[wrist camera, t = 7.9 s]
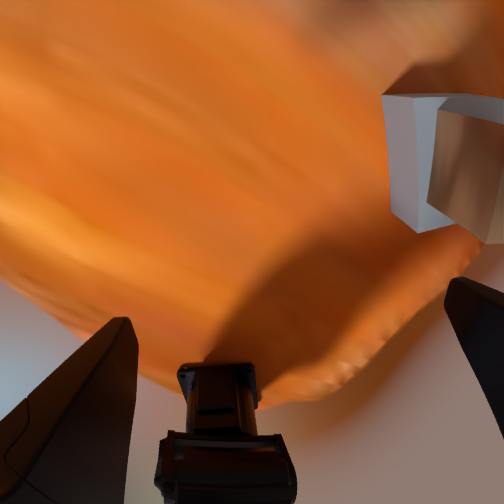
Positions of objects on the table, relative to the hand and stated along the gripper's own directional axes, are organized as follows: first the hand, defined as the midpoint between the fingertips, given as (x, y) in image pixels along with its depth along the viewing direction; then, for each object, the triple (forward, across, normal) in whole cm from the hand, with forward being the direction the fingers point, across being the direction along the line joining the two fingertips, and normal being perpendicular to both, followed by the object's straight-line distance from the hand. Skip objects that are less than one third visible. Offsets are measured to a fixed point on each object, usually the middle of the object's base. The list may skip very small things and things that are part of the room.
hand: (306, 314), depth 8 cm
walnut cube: (+9, -12, -2) cm, 15 cm away
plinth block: (+13, -13, -2) cm, 18 cm away
